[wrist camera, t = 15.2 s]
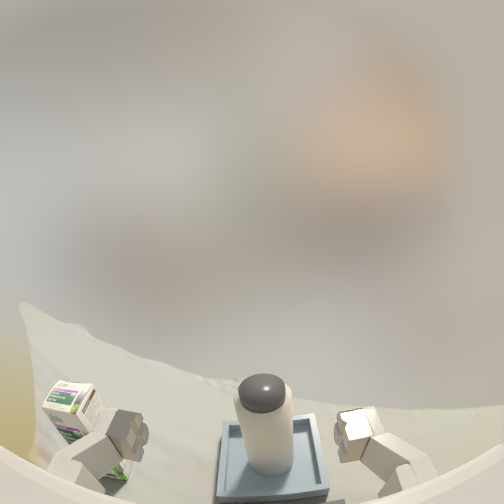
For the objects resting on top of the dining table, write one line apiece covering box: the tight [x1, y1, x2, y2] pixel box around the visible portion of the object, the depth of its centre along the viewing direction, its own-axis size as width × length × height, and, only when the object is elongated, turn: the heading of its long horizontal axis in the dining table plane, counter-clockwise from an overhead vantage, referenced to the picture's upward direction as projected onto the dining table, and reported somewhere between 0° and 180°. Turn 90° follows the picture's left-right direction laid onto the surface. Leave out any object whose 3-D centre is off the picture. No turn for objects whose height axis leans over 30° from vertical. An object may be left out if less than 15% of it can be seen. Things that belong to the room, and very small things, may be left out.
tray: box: [216, 413, 330, 503], centre depth 28 cm, size 13×13×2 cm
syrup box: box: [42, 380, 132, 480], centre depth 25 cm, size 6×6×14 cm
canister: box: [234, 374, 294, 477], centre depth 26 cm, size 6×6×14 cm
